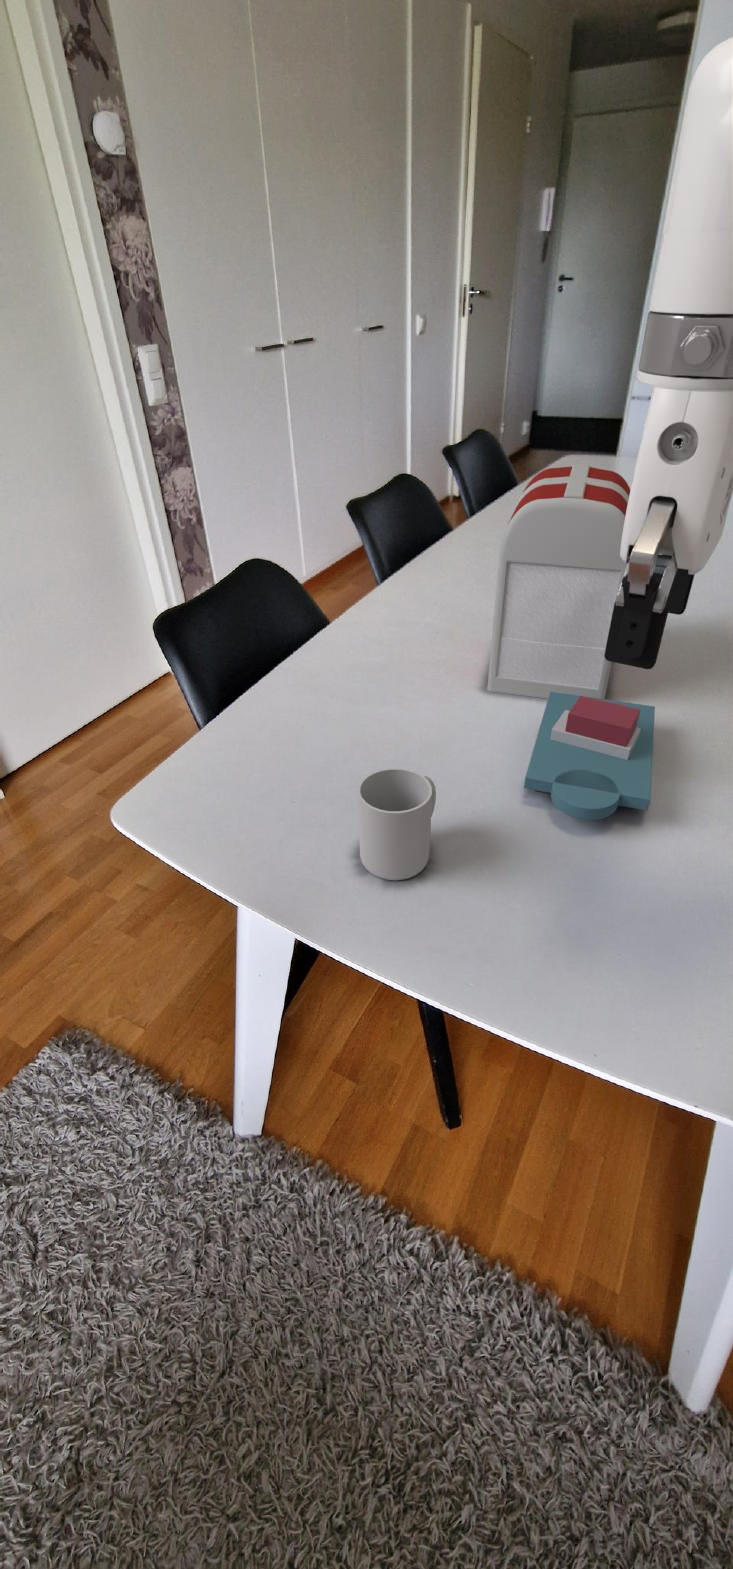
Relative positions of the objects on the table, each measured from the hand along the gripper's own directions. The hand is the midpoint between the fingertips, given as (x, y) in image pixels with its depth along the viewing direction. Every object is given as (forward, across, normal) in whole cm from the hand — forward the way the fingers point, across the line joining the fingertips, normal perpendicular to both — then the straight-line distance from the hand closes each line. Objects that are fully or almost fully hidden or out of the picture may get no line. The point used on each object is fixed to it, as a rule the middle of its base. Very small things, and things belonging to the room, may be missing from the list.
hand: (646, 635), depth 49 cm
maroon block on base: (+24, +24, +6) cm, 34 cm away
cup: (+28, -1, +19) cm, 34 cm away
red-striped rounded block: (+28, +45, +19) cm, 57 cm away
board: (+28, +22, +6) cm, 36 cm away
